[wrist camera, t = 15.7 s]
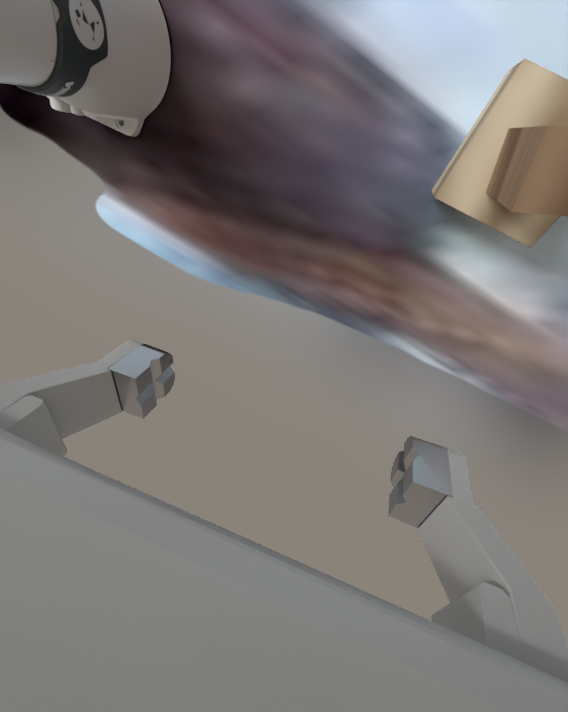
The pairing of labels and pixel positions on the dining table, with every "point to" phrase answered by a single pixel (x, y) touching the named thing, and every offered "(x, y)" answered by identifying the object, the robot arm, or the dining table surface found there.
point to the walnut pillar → (533, 171)
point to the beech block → (484, 143)
